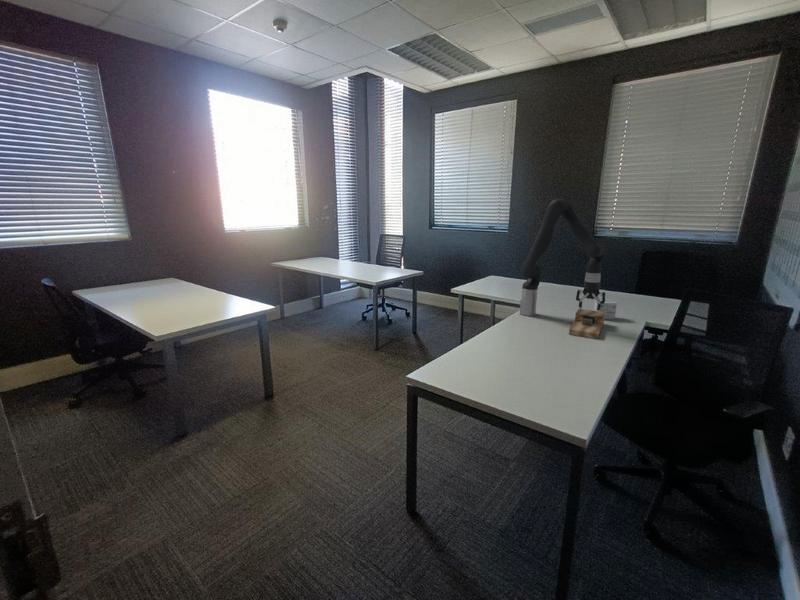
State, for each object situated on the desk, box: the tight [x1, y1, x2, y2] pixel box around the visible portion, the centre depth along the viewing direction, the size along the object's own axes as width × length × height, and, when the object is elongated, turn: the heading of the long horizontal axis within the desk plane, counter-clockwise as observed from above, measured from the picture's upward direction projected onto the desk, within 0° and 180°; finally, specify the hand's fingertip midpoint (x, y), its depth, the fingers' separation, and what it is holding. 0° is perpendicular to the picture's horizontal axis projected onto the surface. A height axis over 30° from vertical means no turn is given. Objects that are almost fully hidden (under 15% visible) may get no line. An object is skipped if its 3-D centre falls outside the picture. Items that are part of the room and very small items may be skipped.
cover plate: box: [582, 316, 595, 326], centre depth 210 cm, size 5×14×3 cm, turn 147°
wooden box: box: [568, 308, 605, 340], centre depth 207 cm, size 14×30×7 cm, turn 147°
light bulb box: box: [593, 299, 618, 320], centre depth 226 cm, size 11×7×11 cm, turn 84°
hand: (589, 309), depth 203 cm, fingers open, 8 cm apart
